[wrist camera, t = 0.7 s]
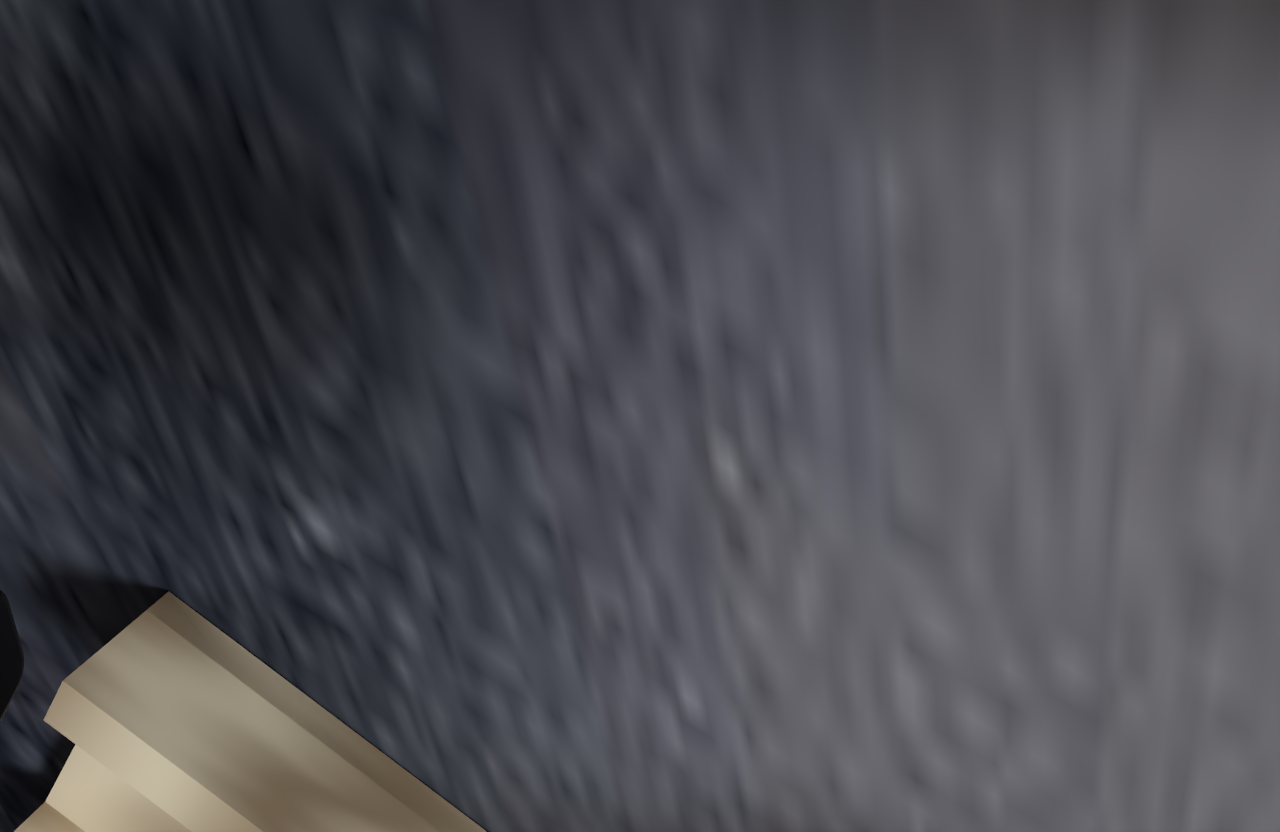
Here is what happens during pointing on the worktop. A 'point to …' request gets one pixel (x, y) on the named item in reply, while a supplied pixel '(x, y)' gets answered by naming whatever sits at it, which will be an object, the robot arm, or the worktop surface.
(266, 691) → the bottle rest
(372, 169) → the worktop surface
